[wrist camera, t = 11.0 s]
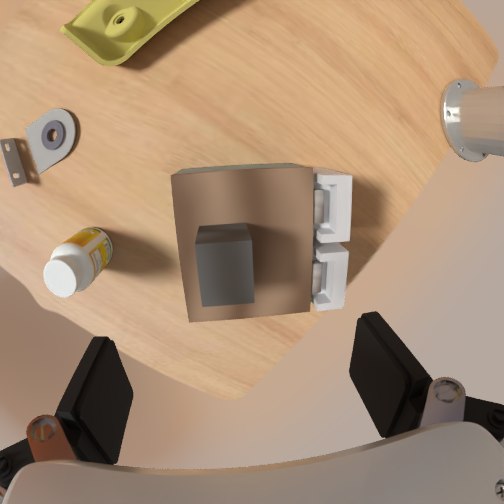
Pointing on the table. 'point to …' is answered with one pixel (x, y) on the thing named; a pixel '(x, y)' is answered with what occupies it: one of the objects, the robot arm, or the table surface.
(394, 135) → the table surface
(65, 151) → the bracket
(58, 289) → the supplement bottle
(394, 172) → the table surface
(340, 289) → the cabinet
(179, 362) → the table surface
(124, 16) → the plastic component
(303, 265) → the door
